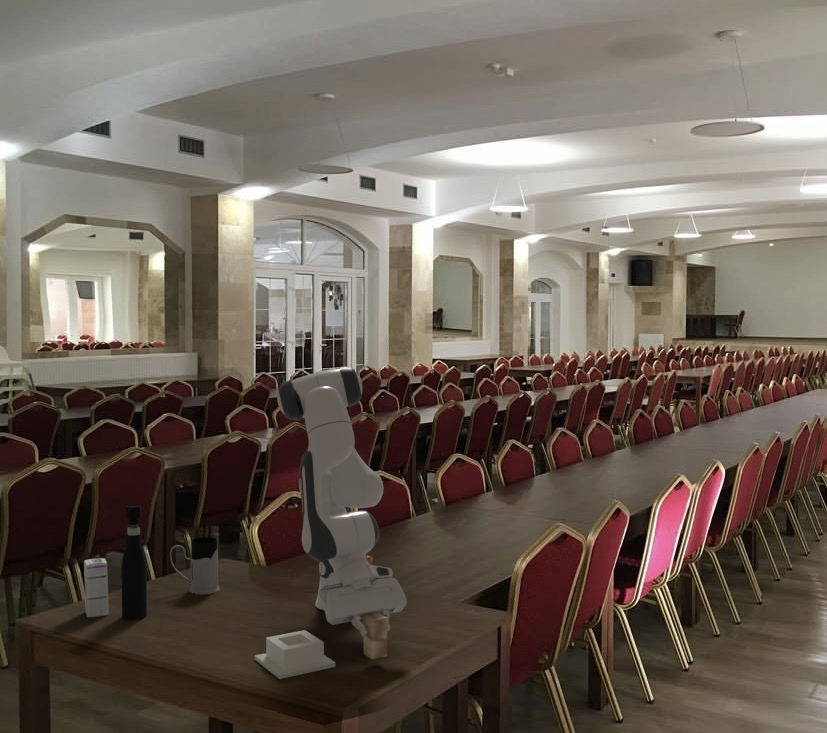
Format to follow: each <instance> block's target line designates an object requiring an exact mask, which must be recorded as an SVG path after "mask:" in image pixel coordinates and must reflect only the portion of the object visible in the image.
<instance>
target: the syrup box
mask: <svg viewBox="0 0 827 733" xmlns="http://www.w3.org/2000/svg"><path fill="white" fill-rule="evenodd" d="M83 575H84V603H85V604H84V611H85V614H86V617H87V618H95V617H102V616H103V617H104V616H108V615H109V610H110V609H109V583H108V582H109V581H108V578H109V577H108V562H107V560H106V558H103V557H100V558H99V557H98V558H89V559H85V560H84V561H83Z"/></svg>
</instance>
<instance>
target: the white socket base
mask: <svg viewBox="0 0 827 733" xmlns="http://www.w3.org/2000/svg"><path fill="white" fill-rule="evenodd" d="M265 645H266V646H265V648H266V649H265V653H261V654H256V655H254V660H255V661H256V662H257V663H259V665H261V666H262V667H263V668H264V669H266V670H267V671H269V672H270V673H271V674H272V675H274V677H276V678H277V679H279V680H281V679H285V678H286V679H287V678H290V677H294V676H295V677H296V676H299V675H300V676H301V675H305V674H309V673H314V672H319V671H322V670H327V669H331V668H332V669H333V668H336V664H337V663H336V662H335V661H334V660H332V659H331V658H329V657H328V656H326V655H325V650H324V649H325V648H324V647H325V642H324V641H323V640H321V639H319V638H318V637H317V636H315V635H313V634H311V633H310V632H308V631H307V630H306V629H303V630H299V631H292V632H288V633H283V634H279V635H278V634H277V635H271V636H267V637H265Z"/></svg>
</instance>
